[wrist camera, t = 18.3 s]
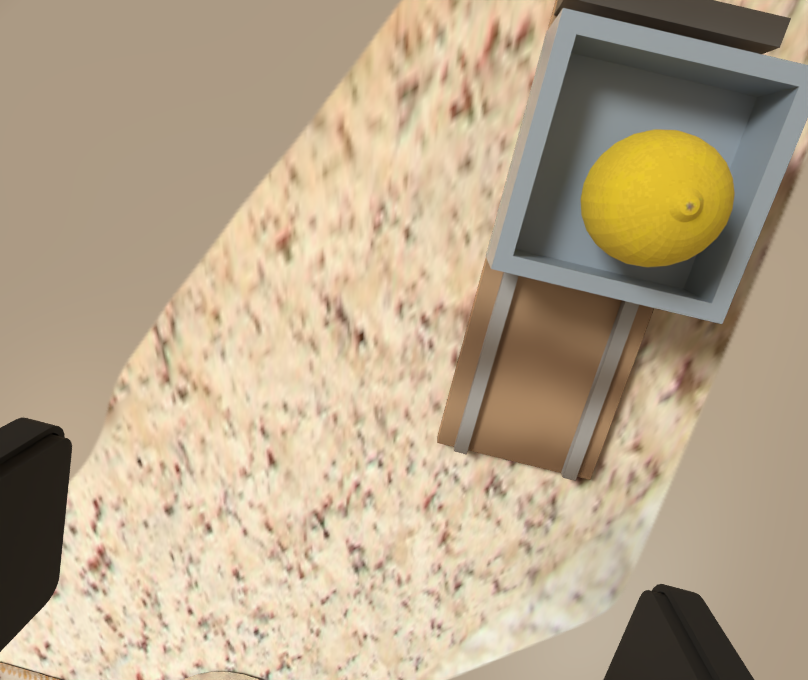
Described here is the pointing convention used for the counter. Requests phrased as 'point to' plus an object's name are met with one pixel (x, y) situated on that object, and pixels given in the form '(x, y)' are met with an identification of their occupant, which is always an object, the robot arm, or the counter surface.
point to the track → (569, 308)
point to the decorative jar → (20, 674)
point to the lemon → (657, 198)
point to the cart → (633, 113)
